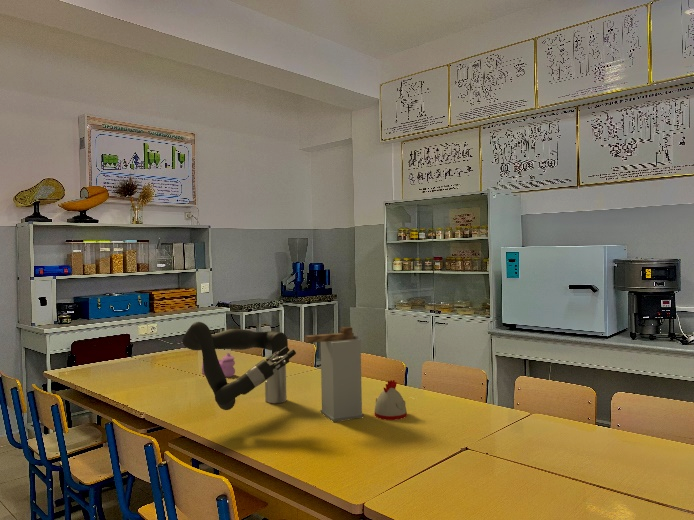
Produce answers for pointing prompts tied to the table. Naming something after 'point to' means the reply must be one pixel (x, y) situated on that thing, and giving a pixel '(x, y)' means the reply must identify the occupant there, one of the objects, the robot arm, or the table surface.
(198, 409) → the table surface
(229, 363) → the pink rounded piece
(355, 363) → the pedestal
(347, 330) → the brown wooden bar
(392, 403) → the white chicken figure
